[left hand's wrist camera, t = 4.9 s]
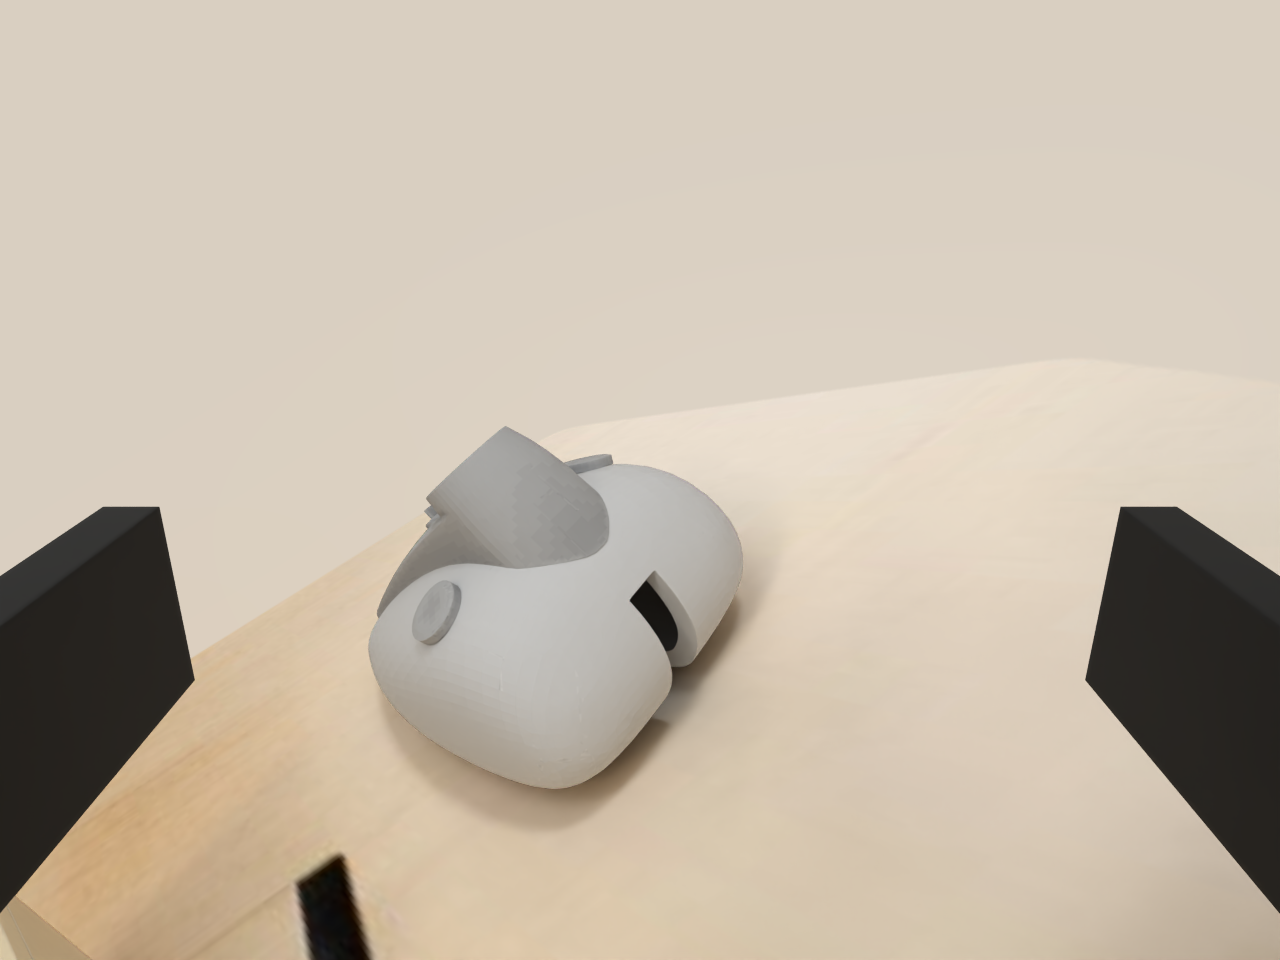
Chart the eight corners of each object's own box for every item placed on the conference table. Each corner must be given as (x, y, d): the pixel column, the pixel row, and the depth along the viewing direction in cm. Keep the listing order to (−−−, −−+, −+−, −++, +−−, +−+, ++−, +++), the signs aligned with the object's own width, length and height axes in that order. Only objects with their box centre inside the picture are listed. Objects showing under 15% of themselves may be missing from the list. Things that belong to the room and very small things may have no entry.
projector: (706, 486, 57) (611, 281, 51) (832, 719, 37) (701, 428, 30) (400, 632, 58) (269, 449, 52) (358, 939, 38) (132, 701, 31)
